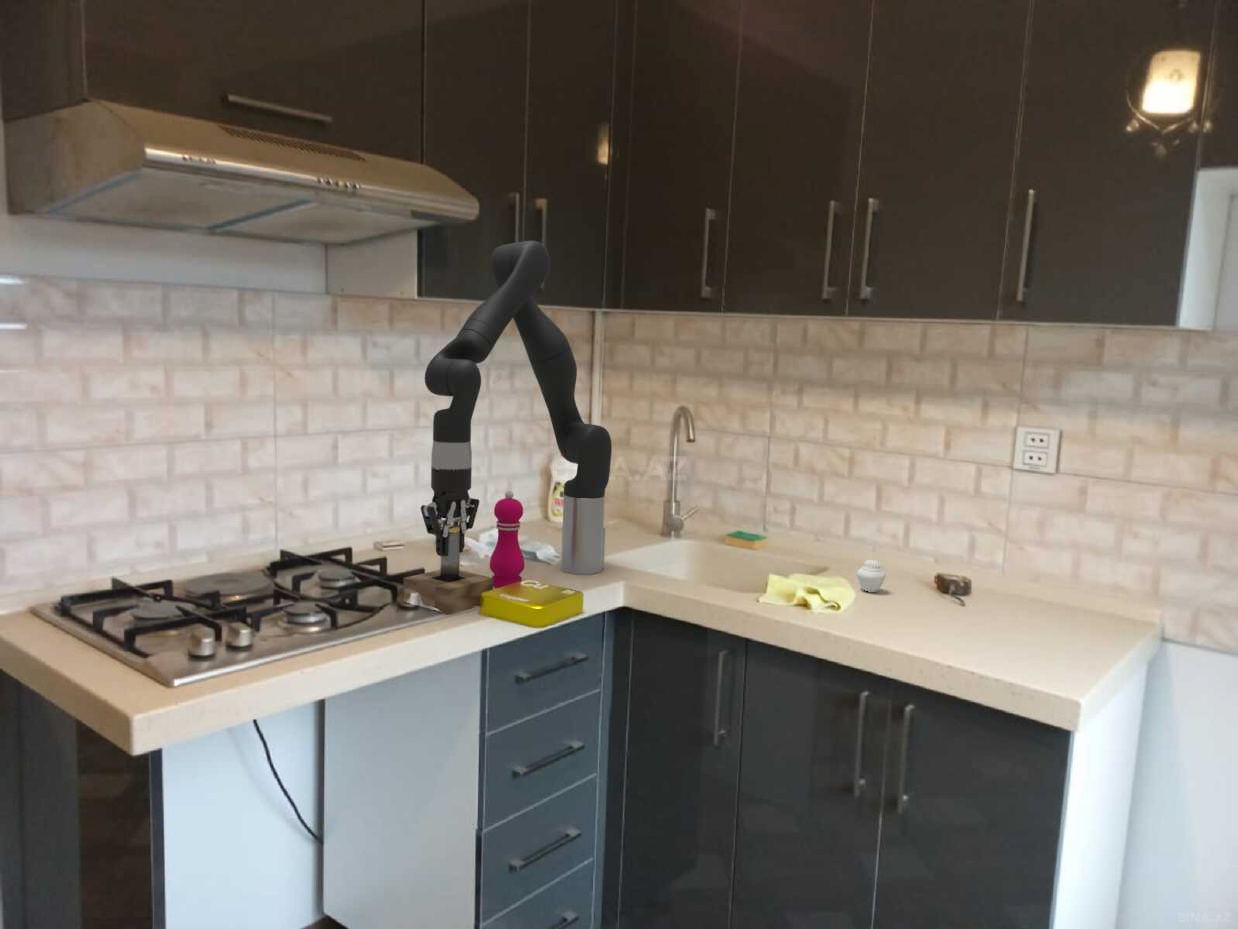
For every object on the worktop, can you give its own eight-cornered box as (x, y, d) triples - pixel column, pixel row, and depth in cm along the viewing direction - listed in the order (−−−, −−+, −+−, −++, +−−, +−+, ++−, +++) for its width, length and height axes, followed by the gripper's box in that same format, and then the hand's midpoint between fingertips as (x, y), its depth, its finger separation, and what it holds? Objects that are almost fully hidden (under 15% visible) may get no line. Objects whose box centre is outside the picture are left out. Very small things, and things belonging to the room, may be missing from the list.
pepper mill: (482, 586, 195) (484, 490, 193) (502, 579, 202) (504, 487, 199) (511, 591, 192) (514, 494, 190) (530, 584, 198) (533, 490, 196)
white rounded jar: (879, 587, 210) (881, 556, 209) (888, 594, 203) (891, 562, 203) (851, 586, 209) (854, 555, 208) (860, 593, 203) (863, 562, 202)
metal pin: (449, 584, 184) (450, 523, 182) (463, 587, 182) (464, 526, 180) (436, 587, 181) (437, 526, 179) (449, 591, 179) (450, 529, 177)
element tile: (475, 616, 175) (475, 591, 175) (524, 600, 188) (525, 576, 187) (539, 632, 167) (540, 606, 167) (587, 614, 180) (588, 589, 180)
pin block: (448, 591, 190) (448, 567, 189) (492, 603, 183) (493, 577, 183) (403, 603, 180) (403, 578, 179) (448, 616, 173) (448, 589, 173)
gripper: (463, 459, 186) (461, 545, 188) (409, 466, 175) (408, 557, 177) (491, 463, 182) (489, 551, 184) (438, 470, 170) (437, 563, 173)
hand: (450, 553), depth 180 cm, fingers closed on metal pin, 3 cm apart
